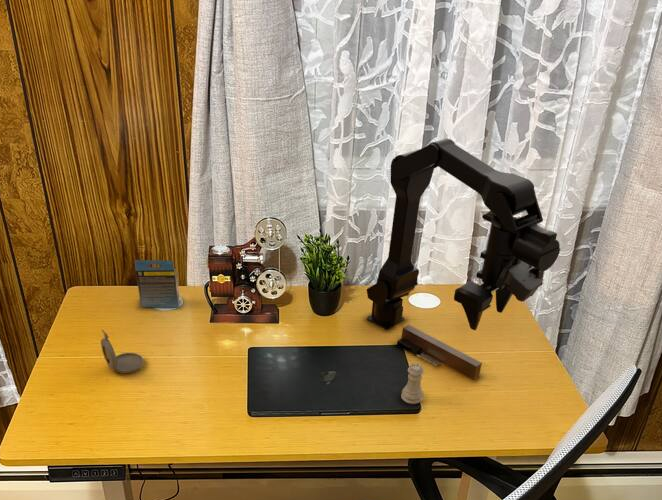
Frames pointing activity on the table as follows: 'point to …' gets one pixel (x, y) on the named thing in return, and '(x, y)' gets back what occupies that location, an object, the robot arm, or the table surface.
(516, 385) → the table surface
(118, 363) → the pocket watch
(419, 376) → the rook chess piece
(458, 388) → the table surface
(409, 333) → the walnut rail
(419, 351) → the letter opener
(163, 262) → the blue product box
